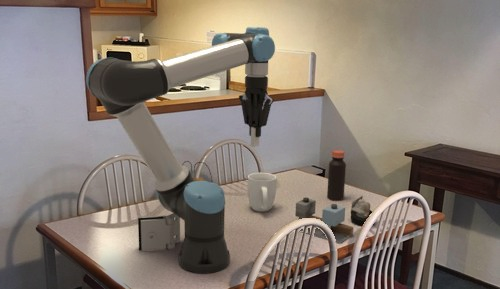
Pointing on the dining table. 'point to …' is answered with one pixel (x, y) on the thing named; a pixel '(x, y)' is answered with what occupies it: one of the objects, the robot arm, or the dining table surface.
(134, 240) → the dining table surface
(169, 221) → the hinge
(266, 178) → the mug
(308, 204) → the trammel beam
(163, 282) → the dining table surface
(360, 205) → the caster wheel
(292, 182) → the dining table surface
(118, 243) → the dining table surface
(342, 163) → the bottle
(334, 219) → the block
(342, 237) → the bolt plate
